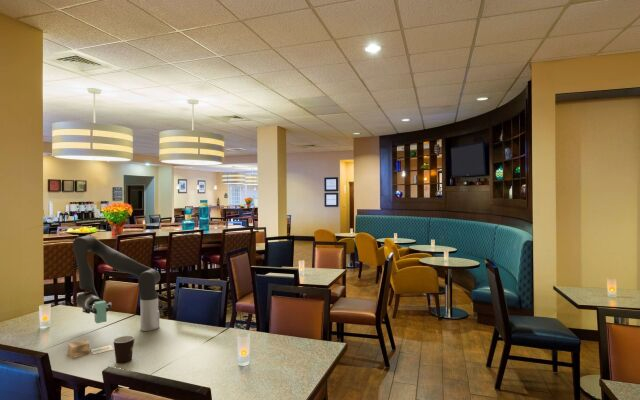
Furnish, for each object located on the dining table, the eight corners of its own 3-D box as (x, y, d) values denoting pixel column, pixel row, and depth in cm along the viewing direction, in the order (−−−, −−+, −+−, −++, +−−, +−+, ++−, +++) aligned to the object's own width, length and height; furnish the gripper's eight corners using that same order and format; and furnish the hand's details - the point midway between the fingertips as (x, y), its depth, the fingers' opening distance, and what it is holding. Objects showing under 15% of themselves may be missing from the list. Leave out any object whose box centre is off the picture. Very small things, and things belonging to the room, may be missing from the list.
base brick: (84, 349, 187) (84, 339, 187) (89, 353, 182) (89, 343, 182) (67, 354, 182) (67, 343, 182) (72, 358, 177) (72, 347, 177)
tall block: (104, 319, 198) (104, 300, 198) (106, 321, 195) (106, 302, 195) (94, 321, 195) (94, 302, 195) (96, 323, 192) (96, 303, 192)
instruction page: (110, 345, 192) (110, 344, 192) (114, 349, 187) (114, 348, 187) (90, 350, 186) (90, 349, 186) (93, 354, 180) (93, 354, 180)
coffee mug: (125, 365, 168) (125, 343, 168) (108, 364, 170) (108, 342, 170) (142, 355, 180) (142, 334, 180) (126, 353, 182) (126, 332, 181)
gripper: (78, 299, 201) (85, 306, 188) (108, 294, 210) (116, 300, 198) (78, 313, 201) (85, 321, 188) (108, 308, 211) (117, 315, 198)
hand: (101, 310), depth 193 cm, fingers closed on tall block, 4 cm apart
